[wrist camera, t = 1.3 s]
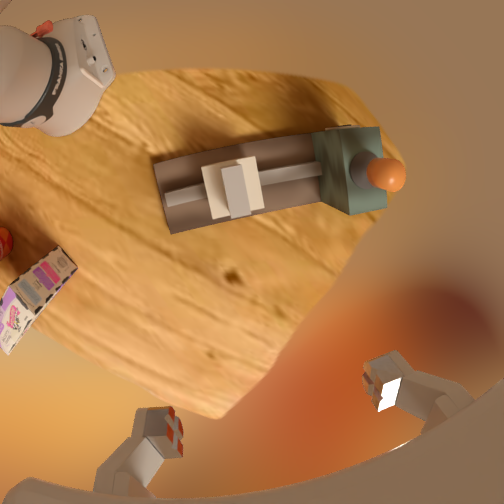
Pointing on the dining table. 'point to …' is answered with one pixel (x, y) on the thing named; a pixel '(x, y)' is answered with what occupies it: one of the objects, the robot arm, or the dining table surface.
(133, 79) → the dining table surface
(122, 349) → the dining table surface
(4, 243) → the paper cup
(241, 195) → the carriage
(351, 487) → the robot arm
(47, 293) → the candy box
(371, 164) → the button
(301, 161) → the rail base
